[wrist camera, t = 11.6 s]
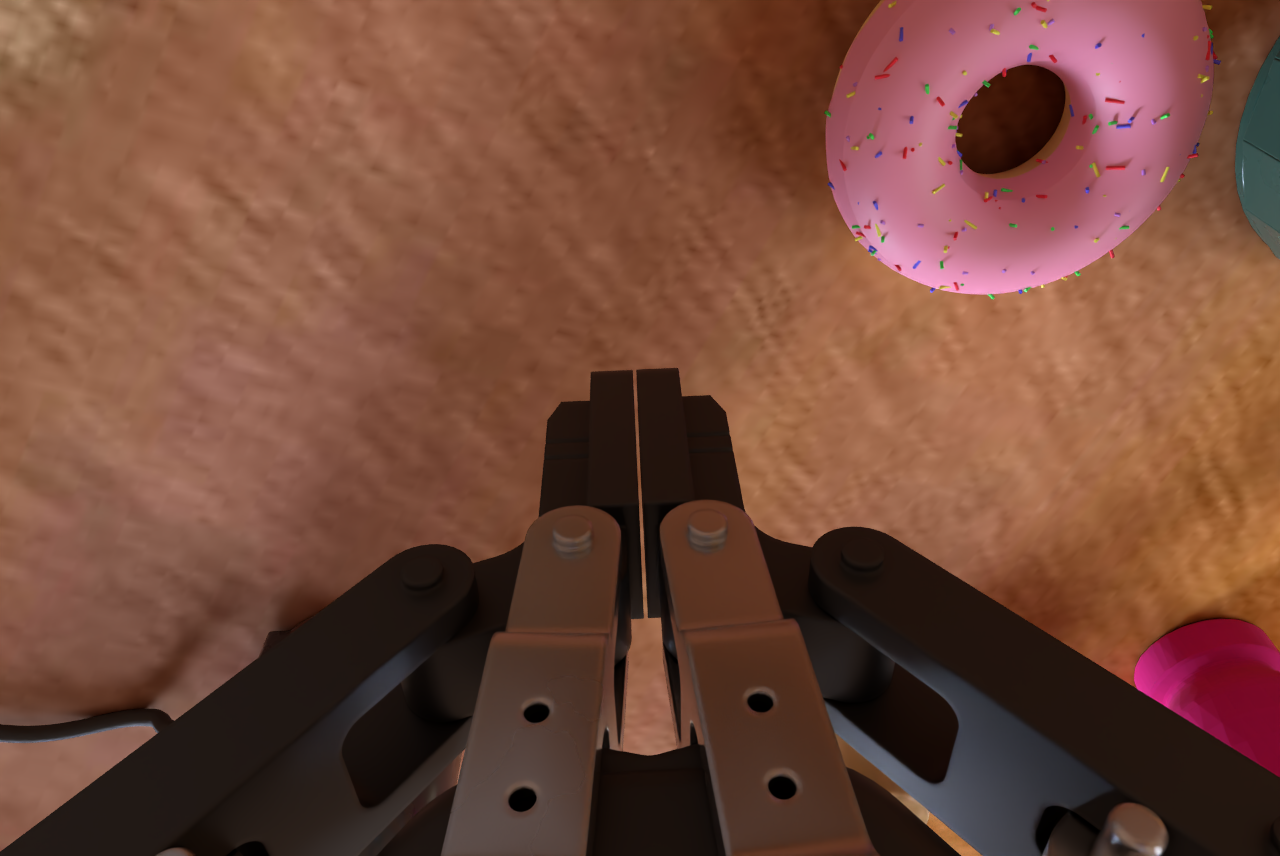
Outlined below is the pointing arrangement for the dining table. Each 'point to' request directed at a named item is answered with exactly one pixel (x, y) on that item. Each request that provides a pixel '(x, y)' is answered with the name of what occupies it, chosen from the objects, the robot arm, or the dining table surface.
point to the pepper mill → (1220, 684)
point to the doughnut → (1053, 178)
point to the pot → (1262, 153)
